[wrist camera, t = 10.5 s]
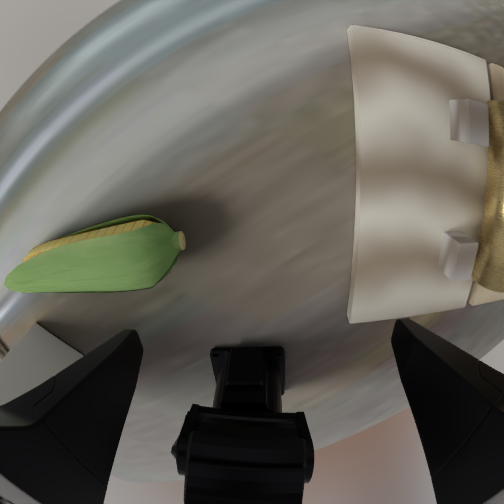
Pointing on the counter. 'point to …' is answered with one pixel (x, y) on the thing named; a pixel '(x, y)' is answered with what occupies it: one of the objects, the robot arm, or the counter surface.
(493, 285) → the hinge pin
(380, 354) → the counter surface
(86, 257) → the edible corn
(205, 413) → the robot arm
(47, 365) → the milk carton
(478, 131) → the hinge leaves
